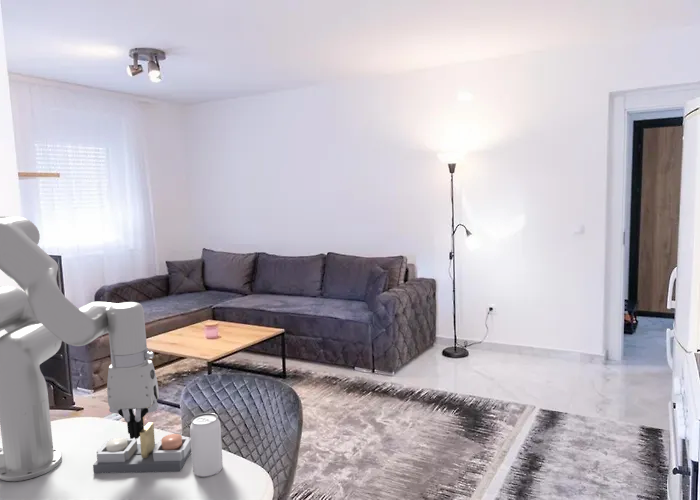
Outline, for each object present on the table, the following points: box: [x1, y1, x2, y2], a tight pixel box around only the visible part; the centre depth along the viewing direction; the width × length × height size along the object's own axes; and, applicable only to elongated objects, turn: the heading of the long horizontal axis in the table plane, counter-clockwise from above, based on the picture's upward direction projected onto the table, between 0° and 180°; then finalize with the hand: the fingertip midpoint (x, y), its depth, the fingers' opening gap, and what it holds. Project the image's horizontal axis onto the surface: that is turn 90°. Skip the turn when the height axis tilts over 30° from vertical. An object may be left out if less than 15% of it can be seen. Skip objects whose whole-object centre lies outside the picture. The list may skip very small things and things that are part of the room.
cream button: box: [106, 437, 128, 452], centre depth 120 cm, size 4×4×2 cm
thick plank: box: [139, 421, 156, 458], centre depth 120 cm, size 1×5×6 cm, turn 1°
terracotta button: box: [160, 433, 183, 450], centre depth 120 cm, size 4×4×2 cm
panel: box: [92, 436, 191, 475], centre depth 120 cm, size 20×9×4 cm, turn 90°
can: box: [189, 412, 224, 478], centre depth 116 cm, size 6×6×12 cm
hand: (136, 435), depth 119 cm, fingers closed
